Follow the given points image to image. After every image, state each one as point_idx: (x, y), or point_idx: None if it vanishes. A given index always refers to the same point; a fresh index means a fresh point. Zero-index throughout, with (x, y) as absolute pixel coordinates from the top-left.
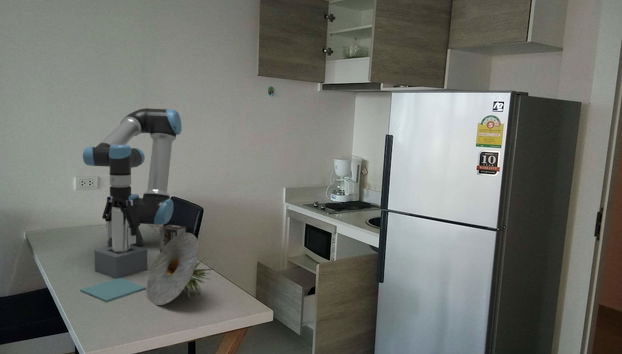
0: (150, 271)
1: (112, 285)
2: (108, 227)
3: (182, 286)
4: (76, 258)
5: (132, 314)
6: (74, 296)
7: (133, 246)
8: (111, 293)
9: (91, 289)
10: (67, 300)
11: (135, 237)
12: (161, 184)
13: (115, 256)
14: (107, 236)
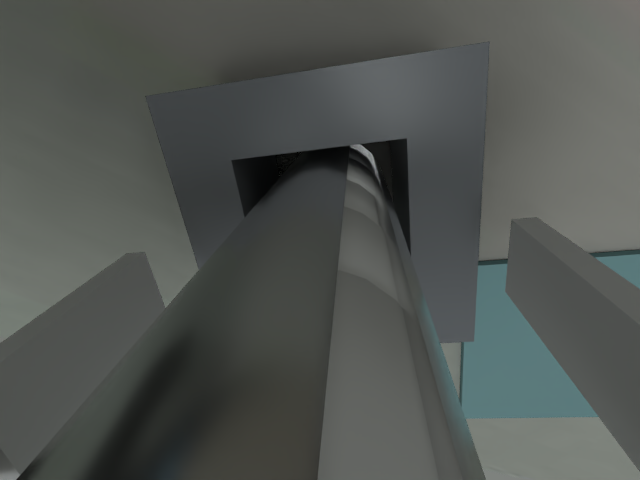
0: None
1: (530, 333)
2: (87, 389)
3: None
4: (18, 253)
5: None
6: (490, 439)
7: (288, 94)
8: None
9: (497, 398)
10: (505, 462)
11: (575, 250)
12: None
13: (451, 333)
14: (151, 322)
